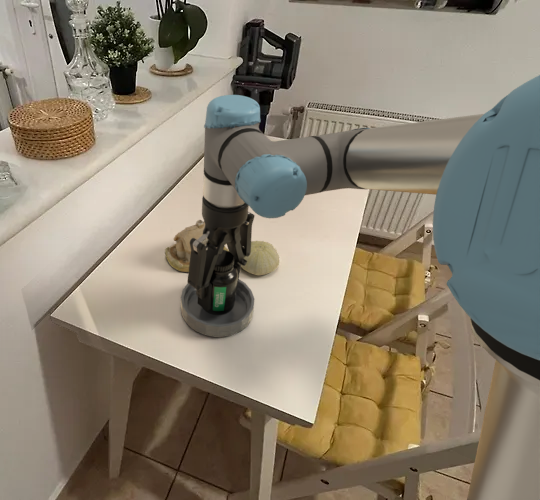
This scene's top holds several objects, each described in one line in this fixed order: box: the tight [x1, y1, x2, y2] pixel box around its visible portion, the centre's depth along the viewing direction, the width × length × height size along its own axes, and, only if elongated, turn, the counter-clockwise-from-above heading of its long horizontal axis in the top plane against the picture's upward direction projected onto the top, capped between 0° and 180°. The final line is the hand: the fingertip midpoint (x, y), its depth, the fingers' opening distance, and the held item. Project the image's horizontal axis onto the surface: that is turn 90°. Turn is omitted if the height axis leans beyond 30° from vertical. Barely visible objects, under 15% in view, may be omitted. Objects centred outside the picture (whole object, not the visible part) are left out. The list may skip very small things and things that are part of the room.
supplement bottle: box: [202, 250, 238, 315], centre depth 81 cm, size 7×7×12 cm
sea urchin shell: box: [241, 240, 280, 277], centre depth 95 cm, size 9×8×8 cm
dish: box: [180, 278, 255, 338], centre depth 85 cm, size 14×14×4 cm
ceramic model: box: [164, 219, 229, 273], centre depth 95 cm, size 14×11×10 cm
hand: (217, 296), depth 83 cm, fingers closed on supplement bottle, 7 cm apart
